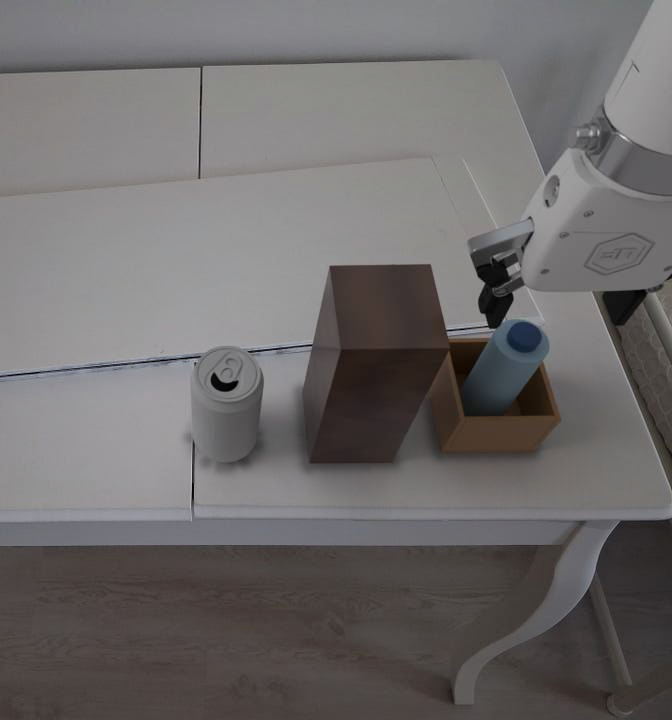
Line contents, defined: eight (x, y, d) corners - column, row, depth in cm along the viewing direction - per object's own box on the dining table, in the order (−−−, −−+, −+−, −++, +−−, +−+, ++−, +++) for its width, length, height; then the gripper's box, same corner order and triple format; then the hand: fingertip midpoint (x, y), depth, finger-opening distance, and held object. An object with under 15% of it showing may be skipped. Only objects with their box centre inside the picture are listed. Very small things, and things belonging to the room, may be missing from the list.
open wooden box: (511, 372, 75) (535, 336, 69) (534, 451, 70) (561, 420, 64) (424, 373, 75) (441, 338, 69) (440, 452, 70) (460, 421, 64)
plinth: (380, 391, 74) (430, 263, 57) (392, 462, 69) (450, 348, 53) (302, 392, 74) (329, 265, 57) (309, 463, 70) (340, 349, 53)
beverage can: (182, 452, 70) (178, 391, 60) (206, 399, 74) (206, 332, 64) (244, 475, 69) (250, 415, 59) (265, 419, 72) (275, 354, 62)
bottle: (504, 395, 73) (556, 320, 62) (498, 434, 70) (552, 363, 59) (458, 382, 74) (501, 306, 63) (450, 420, 71) (494, 347, 60)
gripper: (526, 189, 42) (450, 354, 56) (833, 179, 41) (677, 349, 55) (496, 106, 46) (432, 280, 60) (774, 96, 45) (643, 274, 60)
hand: (550, 313), depth 58 cm, fingers open, 9 cm apart
